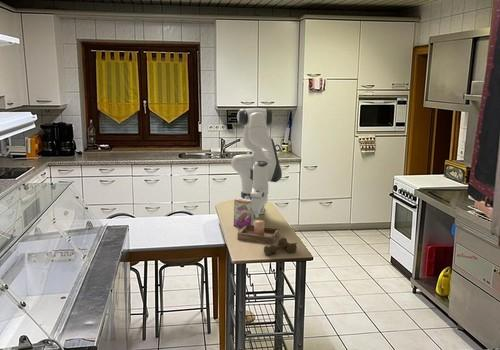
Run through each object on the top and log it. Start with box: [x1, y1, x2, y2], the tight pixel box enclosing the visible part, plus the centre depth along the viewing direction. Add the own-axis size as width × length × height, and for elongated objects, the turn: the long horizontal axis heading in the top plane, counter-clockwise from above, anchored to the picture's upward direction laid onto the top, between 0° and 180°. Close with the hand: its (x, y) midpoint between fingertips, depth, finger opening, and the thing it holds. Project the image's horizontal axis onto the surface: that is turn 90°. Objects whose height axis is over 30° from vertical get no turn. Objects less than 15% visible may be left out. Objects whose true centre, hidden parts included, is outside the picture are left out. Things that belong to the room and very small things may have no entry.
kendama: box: [263, 237, 298, 256], centre depth 230 cm, size 6×10×20 cm
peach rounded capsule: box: [253, 219, 265, 236], centre depth 250 cm, size 6×6×8 cm
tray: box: [236, 224, 281, 245], centre depth 251 cm, size 16×20×4 cm
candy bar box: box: [233, 197, 255, 228], centre depth 268 cm, size 11×5×16 cm, turn 71°
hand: (259, 214), depth 249 cm, fingers open, 8 cm apart
